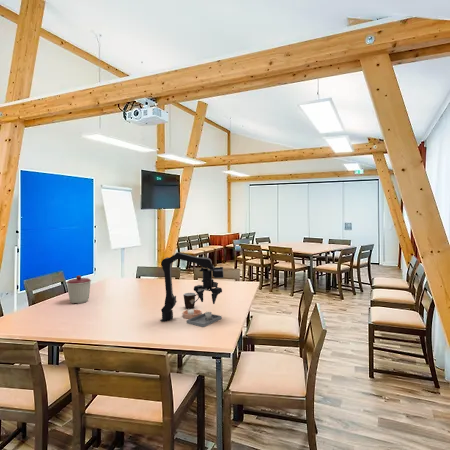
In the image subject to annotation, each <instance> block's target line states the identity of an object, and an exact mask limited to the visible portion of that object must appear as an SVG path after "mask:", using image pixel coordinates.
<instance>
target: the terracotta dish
mask: <svg viewBox="0 0 450 450" xmlns="http://www.w3.org/2000/svg"><path fill="white" fill-rule="evenodd" d="M188 310H189V309H186V310H184V311H182V313H181V315H182V318H183V319H186V320H189V319H191V318H194V317H196V316H199V315H201V314H203V311H202V310H201V309H196V308H193V310H194V315H188Z"/></svg>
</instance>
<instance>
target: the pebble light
mask: <svg viewBox="0 0 450 450" xmlns="http://www.w3.org/2000/svg"><path fill="white" fill-rule="evenodd" d="M193 309H194V308H193ZM193 309H187V310H188V315H194V310H193Z"/></svg>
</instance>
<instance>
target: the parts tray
mask: <svg viewBox="0 0 450 450" xmlns="http://www.w3.org/2000/svg"><path fill="white" fill-rule="evenodd" d="M221 320H222V315H218V314H213V313H212V319H211V320H205V312H204V313H202V314H201V315H199V316H196V317H194V318H191V319H186V324H187V325H192V326H197V327H201V328H205V327H206V326H209V325H212V324H214V323H216V322H218V321H221Z"/></svg>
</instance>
